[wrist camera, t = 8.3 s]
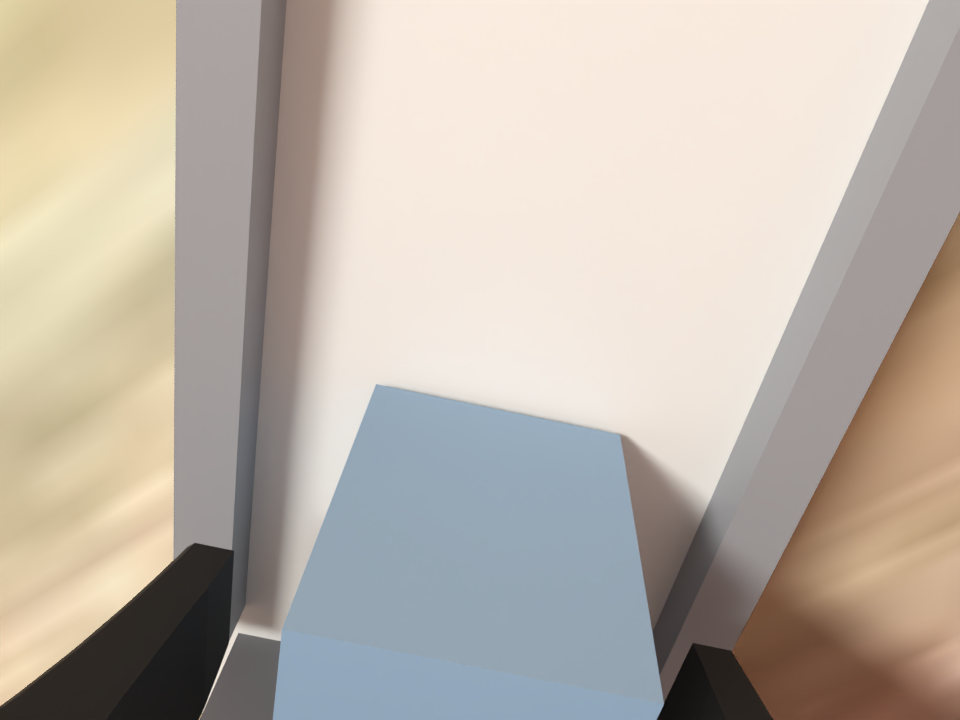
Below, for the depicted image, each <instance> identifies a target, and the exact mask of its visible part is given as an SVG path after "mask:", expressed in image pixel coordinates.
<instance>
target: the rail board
mask: <svg viewBox="0 0 960 720" xmlns="http://www.w3.org/2000/svg"><path fill="white" fill-rule="evenodd" d="M959 212H960V0H176V185H175V390H174V560H175V559H176V558H177V557H178V556H179V555H180V554H181V553H182V552H183V551H184V550H185V549H186V548H187V547H188V546H190V545H192V544H194V543H199V544H204V545H209V546H214V547H219V548H224V549H228V550H233V551H234V563H233V581H232V598H231V616H230V634H229V644H228V647H227V650H226V652H225V655H224V658H223V660H222V663H221V666H220V668H219V671H218V674H217V676H216V679H215V682H214V684H213V687H212V689H211V692H210V694H209V697H208V700H207V702H206V705H205V707H204V709H203V711H202V712H203V713H202V716H201V718H200V720H273V712H274V702H275V692H276V683H277V673H278V663H279V653H280V644H281V634H282V628H283V625H284V622H285V620H286V617H287V615H288V612H289V609H290V607H291V604H292V602H293V599H294V596H295V594H296V591H297V589H298V586H299V583H300V581H301V578H302V576H303V573H304V570H305V568H306V565H307V563H308V560H309V557H310V555H311V552H312V550H313V547H314V544H315V542H316V539H317V537H318V534H319V531H320V529H321V526H322V523H323V521H324V518H325V516H326V513H327V510H328V508H329V505H330V503H331V500H332V497H333V495H334V492H335V490H336V487H337V484H338V482H339V479H340V477H341V474H342V471H343V469H344V466H345V464H346V461H347V458H348V456H349V453H350V451H351V448H352V445H353V443H354V440H355V438H356V435H357V432H358V430H359V427H360V425H361V422H362V419H363V417H364V414H365V412H366V409H367V406H368V404H369V401H370V399H371V396H372V393H373V391H374V388H375V385H376V384H378V385H383V386H388V387H393V388H397V389H402V390H407V391H412V392H417V393H421V394H426V395H431V396H436V397H441V398H446V399H450V400H455V401H460V402H465V403H470V404H474V405H479V406H484V407H489V408H494V409H499V410H503V411H508V412H513V413H518V414H523V415H528V416H532V417H537V418H542V419H547V420H552V421H556V422H561V423H566V424H571V425H576V426H581V427H585V428H590V429H595V430H600V431H605V432H610V433H614V434H619V435H620V437H621V443H622V449H623V455H624V462H625V468H626V474H627V480H628V486H629V492H630V498H631V504H632V511H633V517H634V523H635V529H636V535H637V541H638V547H639V553H640V560H641V566H642V572H643V578H644V584H645V590H646V596H647V602H648V609H649V615H650V621H651V627H652V633H653V639H654V645H655V651H656V658H657V664H658V670H659V676H660V682H661V688H662V694H663V700H664V702H665V700H666V698H667V696H668V693H669V691H670V689H671V687H672V685H673V683H674V681H675V679H676V677H677V675H678V673H679V670H680V668H681V666H682V664H683V662H684V660H685V658H686V656H687V654H688V652H689V649H690V647H691V645H692V643H696V644H701V645H706V646H711V647H716V648H721V649H726V650H731V652H732V650H733V648H734V646H735V644H736V643H737V641H738V639H739V637H740V635H741V633H742V631H743V629H744V627H745V625H746V623H747V621H748V619H749V617H750V616H751V614H752V612H753V610H754V608H755V606H756V604H757V602H758V600H759V598H760V596H761V594H762V592H763V590H764V589H765V587H766V585H767V583H768V581H769V579H770V577H771V575H772V573H773V571H774V569H775V567H776V565H777V563H778V562H779V560H780V558H781V556H782V554H783V552H784V550H785V548H786V546H787V544H788V542H789V540H790V538H791V536H792V535H793V533H794V531H795V529H796V527H797V525H798V523H799V521H800V519H801V517H802V515H803V513H804V511H805V509H806V508H807V506H808V504H809V502H810V500H811V498H812V496H813V494H814V492H815V490H816V488H817V486H818V484H819V482H820V481H821V479H822V477H823V475H824V473H825V471H826V469H827V467H828V465H829V463H830V461H831V459H832V457H833V455H834V454H835V452H836V450H837V448H838V446H839V444H840V442H841V440H842V438H843V436H844V434H845V432H846V430H847V428H848V427H849V425H850V423H851V421H852V419H853V417H854V415H855V413H856V411H857V409H858V407H859V405H860V403H861V401H862V400H863V398H864V396H865V394H866V392H867V390H868V388H869V386H870V384H871V382H872V380H873V378H874V376H875V374H876V373H877V371H878V369H879V367H880V365H881V363H882V361H883V359H884V357H885V355H886V353H887V351H888V349H889V347H890V346H891V344H892V342H893V340H894V338H895V336H896V334H897V332H898V330H899V328H900V326H901V324H902V322H903V320H904V319H905V317H906V315H907V313H908V311H909V309H910V307H911V305H912V303H913V301H914V299H915V297H916V295H917V293H918V292H919V290H920V288H921V286H922V284H923V282H924V280H925V278H926V276H927V274H928V272H929V270H930V268H931V266H932V265H933V263H934V261H935V259H936V257H937V255H938V253H939V251H940V249H941V247H942V245H943V243H944V241H945V239H946V238H947V236H948V234H949V232H950V230H951V228H952V226H953V224H954V222H955V220H956V218H957V216H958V214H959Z"/></svg>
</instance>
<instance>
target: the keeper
mask: <svg viewBox="0 0 960 720" xmlns="http://www.w3.org/2000/svg"><path fill="white" fill-rule="evenodd" d="M663 705H664V700H663V694H662V688H661V682H660V676H659V670H658V664H657V658H656V651H655V645H654V639H653V633H652V627H651V621H650V615H649V609H648V602H647V596H646V590H645V584H644V578H643V572H642V566H641V560H640V553H639V547H638V541H637V535H636V529H635V523H634V517H633V511H632V504H631V498H630V492H629V486H628V480H627V474H626V468H625V462H624V455H623V449H622V443H621V437H620V435H619V434H614V433H610V432H605V431H600V430H595V429H590V428H585V427H581V426H576V425H571V424H566V423H561V422H556V421H552V420H547V419H542V418H537V417H532V416H528V415H523V414H518V413H513V412H508V411H503V410H499V409H494V408H489V407H484V406H479V405H474V404H470V403H465V402H460V401H455V400H450V399H446V398H441V397H436V396H431V395H426V394H421V393H417V392H412V391H407V390H402V389H397V388H393V387H388V386H383V385H378V384H376V385H375V388H374V391H373V393H372V396H371V399H370V401H369V404H368V406H367V409H366V412H365V414H364V417H363V419H362V422H361V425H360V427H359V430H358V432H357V435H356V438H355V440H354V443H353V445H352V448H351V451H350V453H349V456H348V458H347V461H346V464H345V466H344V469H343V471H342V474H341V477H340V479H339V482H338V484H337V487H336V490H335V492H334V495H333V497H332V500H331V503H330V505H329V508H328V510H327V513H326V516H325V518H324V521H323V523H322V526H321V529H320V531H319V534H318V537H317V539H316V542H315V544H314V547H313V550H312V552H311V555H310V557H309V560H308V563H307V565H306V568H305V570H304V573H303V576H302V578H301V581H300V583H299V586H298V589H297V591H296V594H295V596H294V599H293V602H292V604H291V607H290V609H289V612H288V615H287V617H286V620H285V622H284V625H283V628H282V634H281V644H280V653H279V663H278V673H277V683H276V692H275V702H274V712H273V720H657V718H658V716H659V714H660V712H661V709H662V707H663Z"/></svg>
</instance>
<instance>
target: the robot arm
mask: <svg viewBox="0 0 960 720" xmlns="http://www.w3.org/2000/svg"><path fill="white" fill-rule="evenodd" d="M233 563H234V551H233V550H228V549H224V548H219V547H214V546H209V545H204V544H199V543H194V544H192V545H190V546H188V547H187V548H186V549H185V550H184V551H183V552H182V553H181V554H180V555H179V556H178V557H177V558H176V559H175V560H174V561H172V562H171V563H170V564H169V565H168V566H167V567H166V568H165V569H164V570H163V571H162V572H161V573H160V574H159V575H158V576H157V577H156V578H155V579H154V580H152V581H151V582H150V583H149V584H148V585H147V586H146V587H145V588H144V589H143V590H142V591H141V592H139V593H138V594H137V595H136V596H135V597H134V598H133V599H132V600H131V601H130V602H128V603H127V604H126V605H125V606H124V607H123V608H122V609H121V610H119V611H118V612H117V613H116V614H115V615H114V616H112V617H111V618H110V619H109V620H108V621H107V622H105V623H104V624H103V625H102V626H101V627H100V628H98V629H97V630H96V631H95V632H94V633H93V634H91V635H90V636H89V637H88V638H87V639H86V640H84V641H83V642H82V643H81V644H80V645H79V646H77V647H76V648H75V649H74V650H72V651H71V652H70V653H69V654H68V655H66V656H65V657H64V658H62V659H61V660H60V661H59V662H57V663H56V664H55V665H53V666H52V667H51V668H50V669H48V670H47V671H46V672H45V673H43V674H42V675H41V676H39V677H38V678H37V679H36V680H34V681H33V682H32V683H30V684H29V685H28V686H27V687H25V688H24V689H23V690H22V691H20V692H19V693H18V694H16V695H15V696H14V697H12V698H11V699H10V700H8V701H7V702H5V703H4V704H3V705H1V706H0V720H199V718H200V716H201V714H202V711H203V709H204V707H205V705H206V702H207V700H208V697H209V694H210V692H211V689H212V687H213V684H214V682H215V679H216V676H217V674H218V671H219V668H220V666H221V663H222V660H223V658H224V655H225V652H226V650H227V647H228V644H229V634H230V616H231V598H232V581H233ZM657 720H773V719H772V717H771V715H770V714H769V712H768V710H767V709H766V707H765V705H764V704H763V702H762V701H761V699H760V697H759V696H758V694H757V692H756V691H755V689H754V687H753V686H752V684H751V682H750V681H749V679H748V678H747V676H746V674H745V673H744V671H743V669H742V668H741V666H740V665H739V663H738V661H737V660H736V658H735V656H734V655H733V653H732V652H731V650H726V649H721V648H716V647H711V646H706V645H701V644H696V643H692V645H691V647H690V649H689V652H688V654H687V656H686V658H685V660H684V662H683V664H682V666H681V668H680V670H679V673H678V675H677V677H676V679H675V681H674V683H673V685H672V687H671V689H670V691H669V693H668V696H667V698H666V700H665V702H664V705H663V707H662V709H661V712H660V714H659V716H658V718H657Z"/></svg>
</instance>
